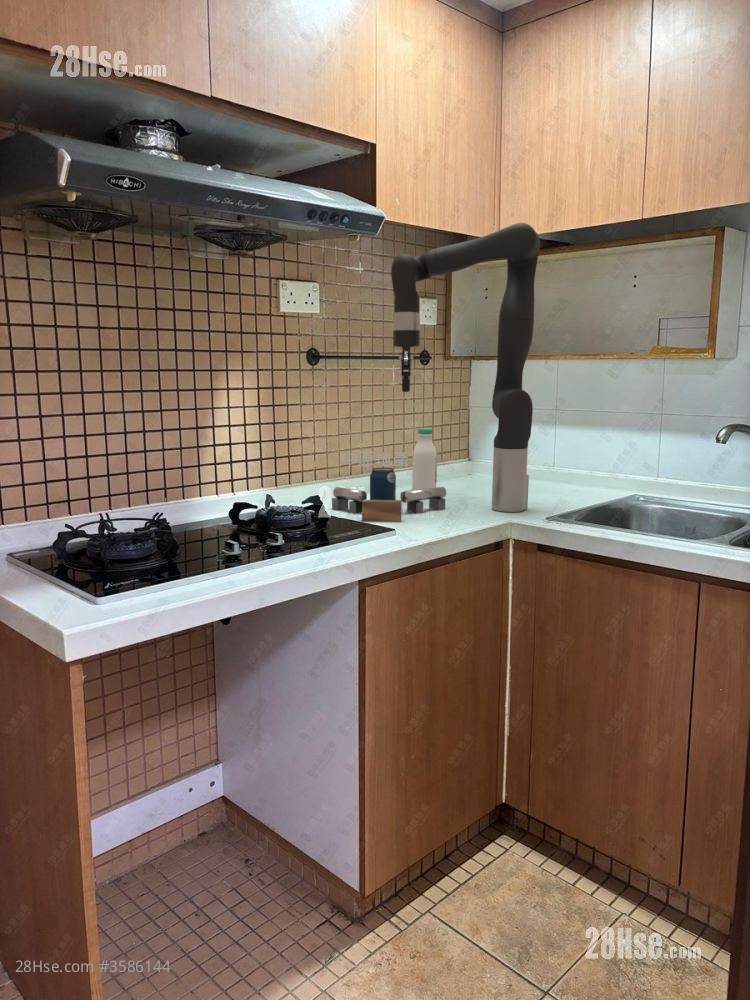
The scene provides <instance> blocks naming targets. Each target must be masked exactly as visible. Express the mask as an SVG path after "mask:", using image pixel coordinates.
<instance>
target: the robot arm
mask: <svg viewBox="0 0 750 1000" xmlns="http://www.w3.org/2000/svg"><path fill="white" fill-rule="evenodd" d="M540 241H541V240H540V236H539V234H538V233H537V231H536V230H535V229H534V228H533V227H532V226H531V225H530V224H529V223H525V222H516V223H514V224H511V225H509V226H506V227H504V228H501V229H498V230H497V231H495V232H493V233H492V232H491V233H489V234H487V235H484V236H481V237H477V238H474V239H471V240H466V241H462V242H457V243H454V244H450V245H449V244H448V245H445V246H441V247H436V248H432V249H430V250H428V251H427V252H426V253H424V254H420V255H419V254H418V255H415V256H412V255H410V254H408V253H400V254H398V255H397V256H395V258H394V259H393V261H392V263H391V264H392V265H391V268H390V269H391V270H390V271H391V272H390V273H391V274H390V275H391V285H392V290H393V294H394V303H393V304H394V305H393V307H394V309H393V312H394V314H393V321H392V325H393V327H392V333H393V334H392V335H393V336H392V346H393V347H395V348H401V353H399V354H398V359H399V369H400V371H401V374H400V377H401V391H402V392H403V393H409V392H410V391H411V376H412V375H411V374H412V373H411V371H412V369H413V360H414V353H411V349H412V348H417V347H419V346H420V345H421V337H420V336H421V319H420V318H421V317H420V295H419V293H418V291H417V284H416V282H417V283H418V282H421V281H423V280H424V281H425V280H427V279H430V278H432V277H434V276H440V275H441V276H442V275H447V274H449V273H454V272H458V271H461V270H465V269H467V268H469V267H472V266H474V265H477V264H480V263H483V262H487V261H493V260H501V259H506V264H507V268H506V269H507V270H506V271H507V273H506V275H507V276H506V277H507V278H506V285H505V286H506V287H505V290H504V293H503V297H502V301H501V305H500V308H499V314H498V315H499V316H498V329H497V334H498V335H497V354H496V355H497V357H496V358H497V359H496V361H497V363H496V376H495V380H494V381H495V382H494V387H493V388H494V389H493V394H492V401H491V407H492V411H493V414H494V416H495V417H496V418H497V419H498V423H497V424H498V425H497V426H498V427H497V433H496V435H495V436H494V439H493V454H492V455H493V456H492V457H493V458H492V459H493V460H492V482H491V483H492V484H491V485H492V486H491V510H494V511H497V512H507V513H516V512H517V513H518V512H523V510H524V511H525V510H527V508H529V505H528V504H529V485H530V484H529V483H530V481H529V480H530V475H529V474H528V472H527V471H528V452H529V451H528V449H529V441H530V438H531V437H532V436H531V435H532V424H533V412H534V411H533V410H534V407H533V401H532V398H531V395H530V394H529V393H528V392H527V391H525V390H523V374H524V373H523V372H524V367H525V363H526V362H527V357H528V355H529V353H530V349H531V345H532V341H533V337H534V326H535V279H536V278H535V277H536V271H537V265H538V258H539V253H540V247H541V242H540Z"/></svg>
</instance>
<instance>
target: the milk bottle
mask: <svg viewBox="0 0 750 1000" xmlns="http://www.w3.org/2000/svg"><path fill="white" fill-rule="evenodd" d="M433 433H434V432H433V428H432V427H419V428H417V436H418V437H417V438H418V439H417V443H416V444H415V446H414V449H413V453H412V473H411V474H412V479H411V480H412V481H411V483H412V485H411V486H412V488H411V490H420V489H428V488H436V487H437V480H438V479H437V474H438V473H437V469H438V466H437V465H438V464H437V462H438V458H437V455H438V454H437V450H436V447H435V445H434V442H433V438H432V436H433Z"/></svg>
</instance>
